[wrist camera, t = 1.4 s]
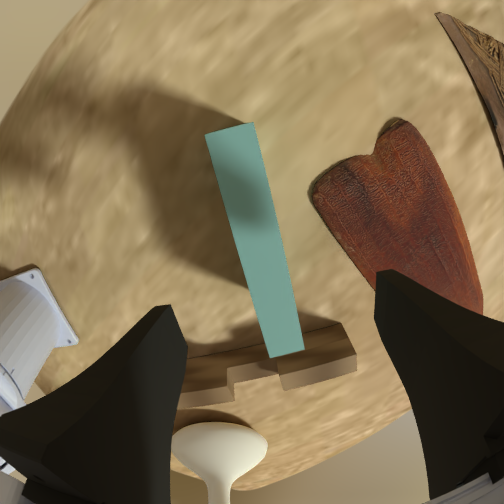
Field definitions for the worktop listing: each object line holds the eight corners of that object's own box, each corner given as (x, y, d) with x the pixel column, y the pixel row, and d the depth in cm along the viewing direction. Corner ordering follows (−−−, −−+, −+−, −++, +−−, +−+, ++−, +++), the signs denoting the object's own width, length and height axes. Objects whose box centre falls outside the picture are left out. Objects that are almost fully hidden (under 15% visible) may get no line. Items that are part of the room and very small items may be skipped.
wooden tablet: (298, 192, 20) (303, 198, 19) (399, 109, 18) (411, 110, 17) (425, 367, 29) (431, 377, 28) (486, 314, 27) (493, 322, 26)
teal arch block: (285, 286, 22) (304, 349, 16) (259, 293, 23) (269, 358, 16) (245, 123, 18) (253, 122, 11) (214, 131, 18) (204, 134, 11)
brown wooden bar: (172, 377, 26) (166, 410, 22) (163, 362, 25) (156, 396, 21) (342, 339, 25) (356, 370, 22) (341, 323, 24) (356, 354, 21)
